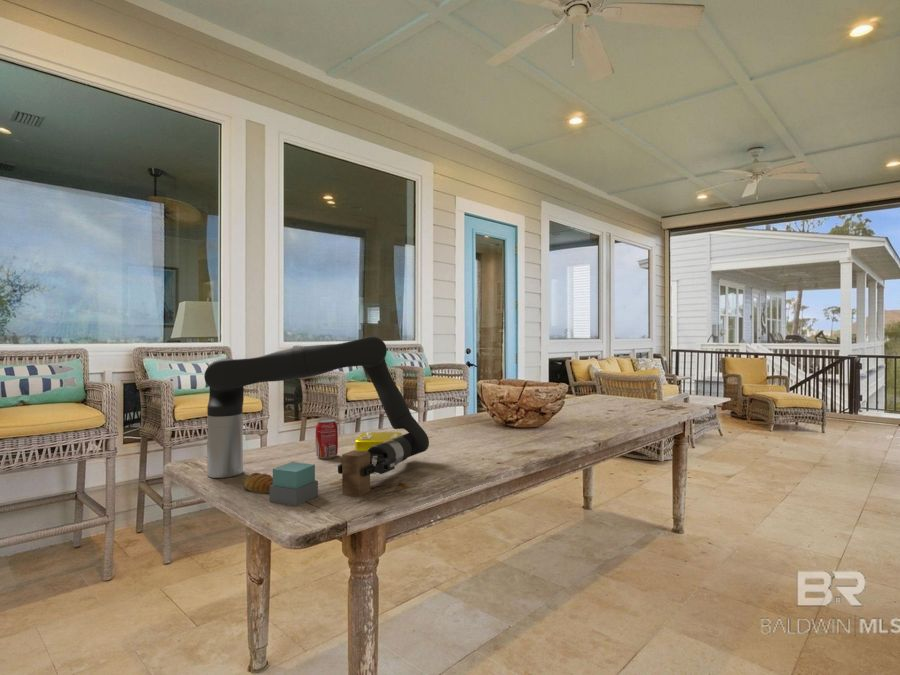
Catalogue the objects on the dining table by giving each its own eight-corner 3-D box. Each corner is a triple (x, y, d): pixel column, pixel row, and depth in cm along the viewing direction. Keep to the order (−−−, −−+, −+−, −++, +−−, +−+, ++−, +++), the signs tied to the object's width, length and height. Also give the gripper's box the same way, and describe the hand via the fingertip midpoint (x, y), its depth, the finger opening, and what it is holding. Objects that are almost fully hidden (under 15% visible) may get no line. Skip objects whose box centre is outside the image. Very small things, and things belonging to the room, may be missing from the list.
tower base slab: (269, 502, 118) (269, 485, 117) (292, 492, 125) (292, 477, 125) (296, 507, 114) (296, 490, 114) (317, 496, 122) (317, 480, 122)
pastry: (285, 489, 127) (285, 474, 127) (263, 496, 122) (263, 481, 122) (262, 483, 133) (262, 469, 132) (240, 490, 127) (240, 475, 127)
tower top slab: (272, 485, 118) (272, 468, 118) (292, 477, 124) (292, 461, 124) (296, 488, 115) (296, 471, 115) (315, 480, 122) (314, 464, 122)
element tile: (398, 453, 166) (397, 439, 166) (353, 453, 166) (353, 439, 166) (402, 443, 181) (402, 430, 181) (362, 443, 181) (362, 430, 181)
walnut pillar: (342, 494, 123) (342, 454, 123) (353, 488, 127) (353, 450, 127) (359, 496, 121) (359, 456, 121) (370, 490, 125) (370, 451, 125)
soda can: (324, 453, 165) (324, 418, 165) (342, 455, 162) (342, 419, 162) (311, 458, 158) (311, 421, 158) (329, 460, 156) (329, 422, 156)
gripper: (363, 440, 140) (327, 453, 125) (407, 444, 134) (375, 459, 119) (363, 466, 140) (327, 482, 125) (407, 471, 134) (375, 489, 119)
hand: (351, 471), depth 122 cm, fingers open, 6 cm apart
